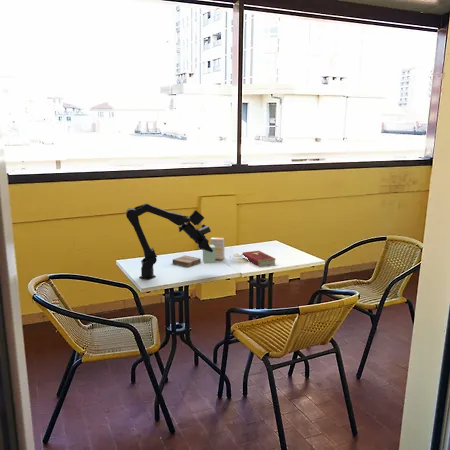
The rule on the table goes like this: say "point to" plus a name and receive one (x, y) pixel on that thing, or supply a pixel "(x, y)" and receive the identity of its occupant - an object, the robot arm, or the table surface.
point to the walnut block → (186, 261)
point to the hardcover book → (259, 258)
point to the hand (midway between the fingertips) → (211, 250)
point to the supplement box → (218, 247)
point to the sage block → (209, 255)
